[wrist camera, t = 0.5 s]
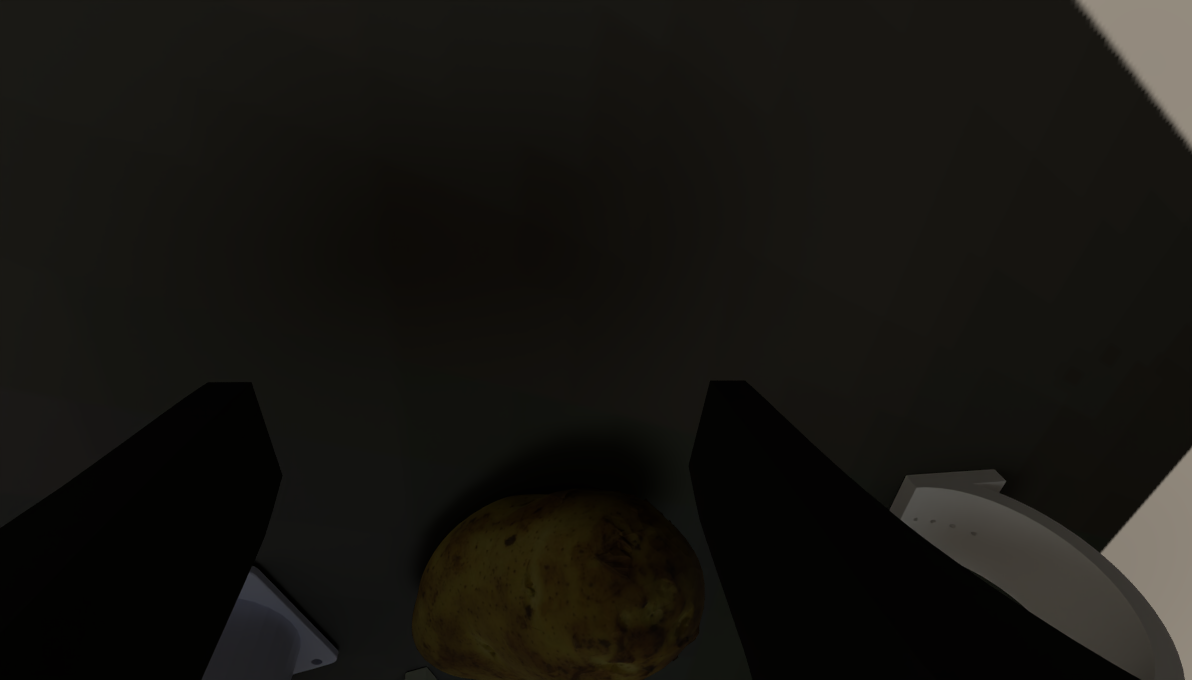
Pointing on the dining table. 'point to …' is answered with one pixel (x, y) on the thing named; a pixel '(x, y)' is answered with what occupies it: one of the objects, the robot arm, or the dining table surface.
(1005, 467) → the dining table surface
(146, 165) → the dining table surface
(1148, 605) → the headphone stand
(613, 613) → the potato
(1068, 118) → the dining table surface
